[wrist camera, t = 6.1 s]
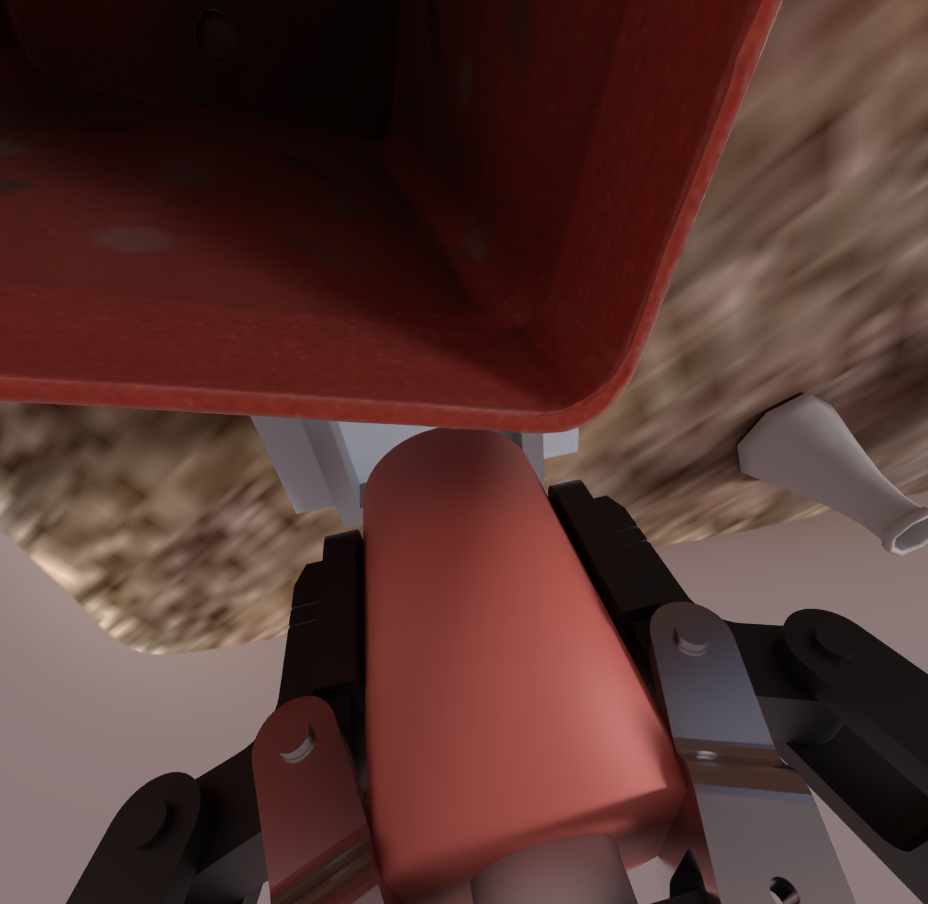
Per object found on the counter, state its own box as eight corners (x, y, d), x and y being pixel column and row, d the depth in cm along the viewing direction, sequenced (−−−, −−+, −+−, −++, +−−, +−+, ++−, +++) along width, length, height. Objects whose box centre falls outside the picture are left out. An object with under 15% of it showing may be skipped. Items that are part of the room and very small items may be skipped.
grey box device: (245, 265, 20) (176, 346, 13) (514, 217, 21) (603, 264, 14) (305, 417, 25) (282, 542, 17) (523, 372, 26) (592, 472, 18)
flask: (812, 372, 30) (977, 460, 22) (842, 430, 34) (993, 522, 26) (718, 445, 32) (837, 549, 24) (756, 491, 36) (870, 594, 28)
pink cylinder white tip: (339, 448, 11) (306, 1028, 4) (531, 407, 11) (821, 869, 4) (385, 574, 13) (415, 1044, 6) (537, 538, 14) (717, 948, 7)
